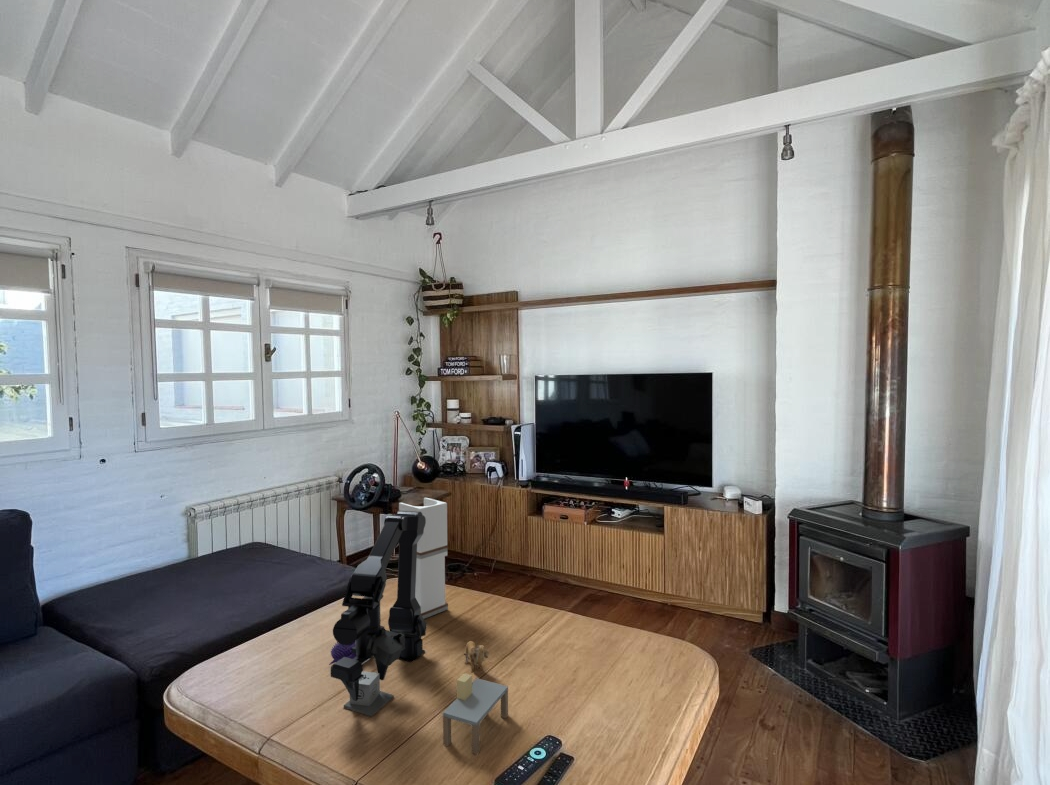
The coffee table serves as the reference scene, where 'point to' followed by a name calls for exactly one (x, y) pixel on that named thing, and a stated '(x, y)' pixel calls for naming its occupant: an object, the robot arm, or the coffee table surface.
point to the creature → (342, 652)
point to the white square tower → (431, 557)
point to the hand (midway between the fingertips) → (369, 689)
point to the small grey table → (474, 706)
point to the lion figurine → (475, 655)
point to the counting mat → (374, 707)
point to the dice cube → (367, 689)
